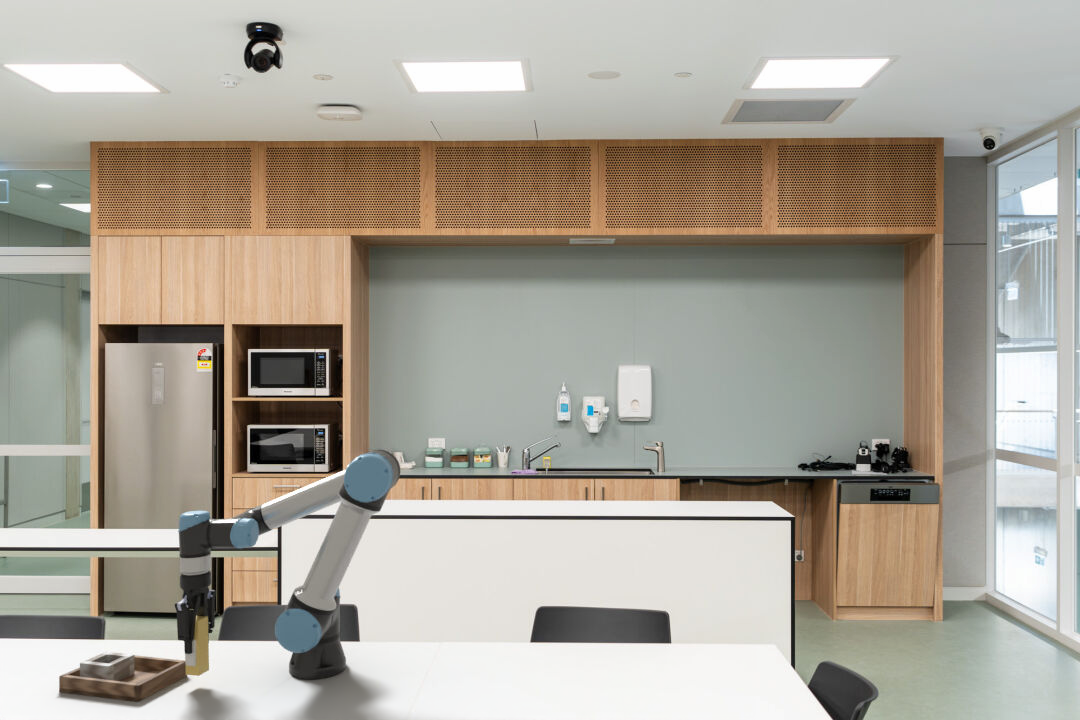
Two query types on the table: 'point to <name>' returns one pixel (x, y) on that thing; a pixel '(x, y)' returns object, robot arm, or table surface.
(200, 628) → the connector
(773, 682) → the table surface
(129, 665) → the brown wooden tray
